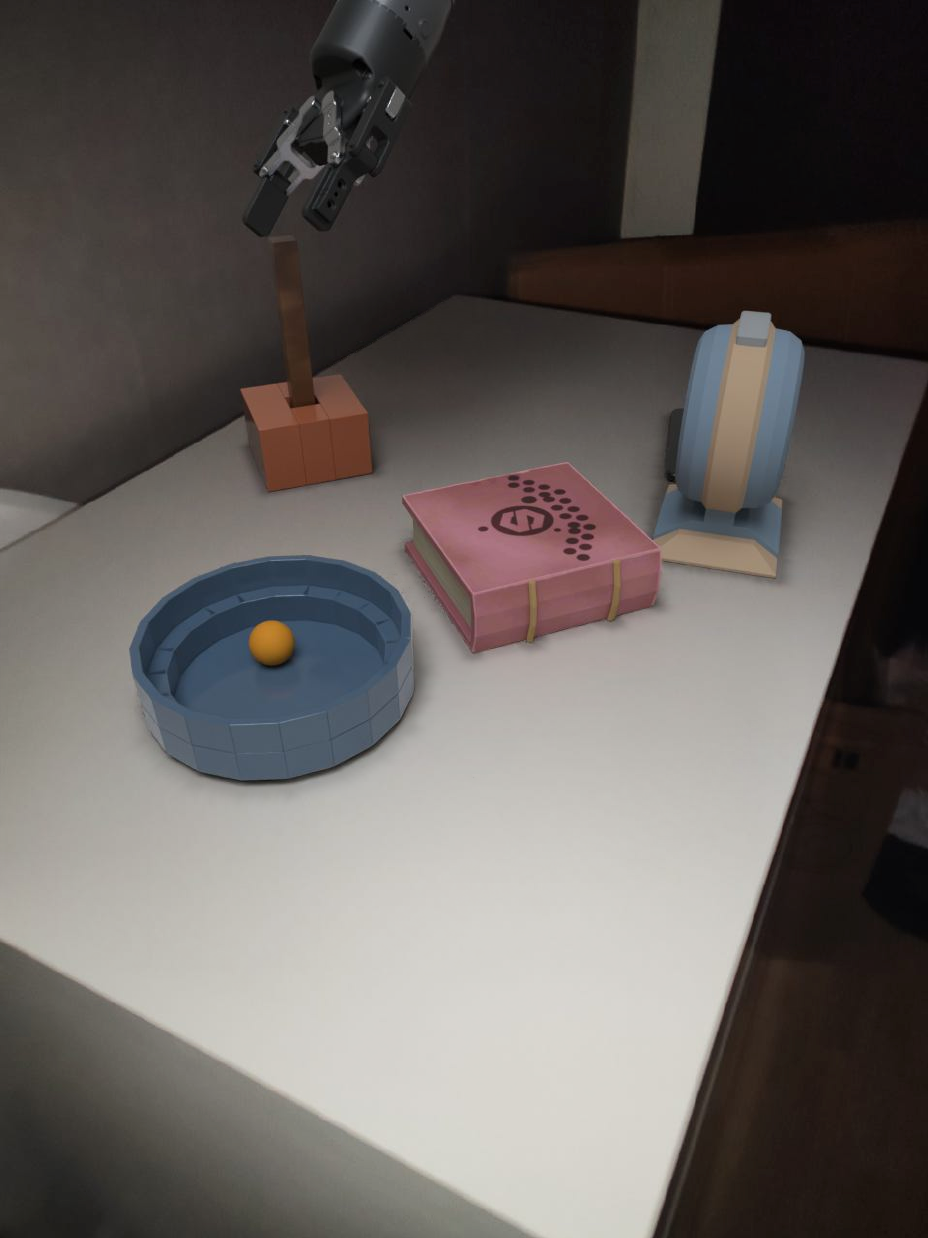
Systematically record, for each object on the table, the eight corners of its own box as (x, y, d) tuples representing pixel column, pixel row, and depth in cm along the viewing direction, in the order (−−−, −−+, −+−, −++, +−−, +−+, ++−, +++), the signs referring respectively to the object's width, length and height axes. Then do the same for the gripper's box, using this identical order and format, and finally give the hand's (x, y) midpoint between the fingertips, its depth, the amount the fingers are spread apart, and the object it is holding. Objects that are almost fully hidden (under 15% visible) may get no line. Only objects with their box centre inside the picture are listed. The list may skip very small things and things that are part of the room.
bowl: (162, 820, 51) (142, 757, 48) (137, 643, 64) (121, 585, 61) (450, 742, 56) (449, 680, 53) (373, 592, 69) (368, 536, 66)
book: (477, 660, 62) (477, 601, 59) (404, 549, 74) (401, 495, 71) (659, 612, 66) (668, 554, 63) (564, 514, 78) (567, 461, 75)
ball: (256, 679, 60) (249, 643, 58) (248, 652, 62) (241, 617, 60) (301, 668, 61) (296, 633, 59) (292, 642, 63) (286, 607, 61)
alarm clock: (669, 481, 82) (697, 281, 72) (782, 496, 80) (828, 291, 69) (645, 565, 72) (674, 343, 61) (774, 585, 69) (828, 358, 58)
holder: (268, 492, 82) (258, 430, 78) (249, 447, 89) (239, 388, 85) (372, 473, 84) (368, 412, 81) (346, 431, 92) (340, 373, 88)
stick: (301, 466, 86) (272, 242, 74) (297, 457, 87) (267, 236, 75) (322, 462, 86) (297, 240, 74) (317, 453, 88) (291, 234, 76)
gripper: (293, 15, 69) (195, 199, 68) (406, -34, 59) (294, 182, 58) (362, 90, 74) (272, 262, 73) (477, 58, 64) (375, 257, 63)
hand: (282, 227), depth 65 cm, fingers open, 8 cm apart
